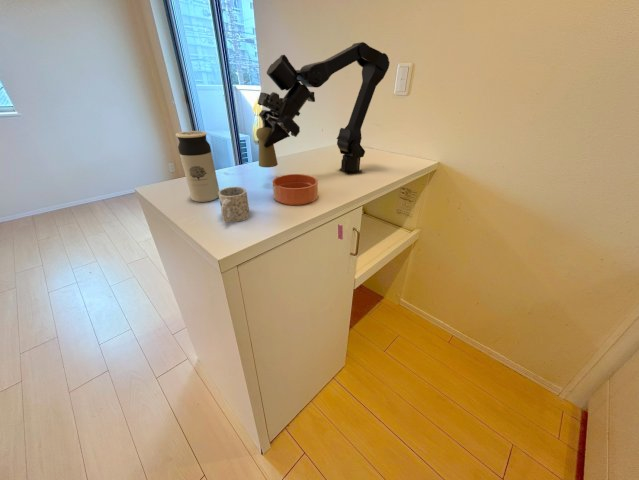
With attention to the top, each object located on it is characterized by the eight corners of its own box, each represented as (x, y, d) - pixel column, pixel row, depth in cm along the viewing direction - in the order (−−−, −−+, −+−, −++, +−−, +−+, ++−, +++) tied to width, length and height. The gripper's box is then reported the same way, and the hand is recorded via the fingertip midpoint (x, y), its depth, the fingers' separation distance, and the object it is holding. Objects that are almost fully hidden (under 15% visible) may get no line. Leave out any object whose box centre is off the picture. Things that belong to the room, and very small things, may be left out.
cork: (281, 164, 82) (278, 127, 77) (266, 168, 79) (262, 130, 73) (269, 161, 86) (266, 125, 80) (254, 164, 82) (249, 127, 76)
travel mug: (198, 192, 80) (183, 130, 71) (224, 192, 80) (212, 131, 71) (186, 202, 74) (168, 135, 64) (214, 202, 74) (199, 136, 64)
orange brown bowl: (305, 186, 86) (305, 171, 83) (325, 200, 76) (325, 184, 73) (267, 193, 80) (266, 177, 78) (284, 209, 71) (282, 192, 68)
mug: (229, 209, 70) (225, 186, 66) (253, 211, 69) (250, 187, 66) (212, 227, 61) (206, 201, 58) (239, 229, 61) (235, 203, 57)
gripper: (261, 80, 79) (231, 122, 80) (287, 81, 65) (250, 131, 66) (286, 108, 86) (259, 145, 87) (314, 113, 73) (281, 158, 74)
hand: (261, 145), depth 78 cm, fingers closed on cork, 5 cm apart
